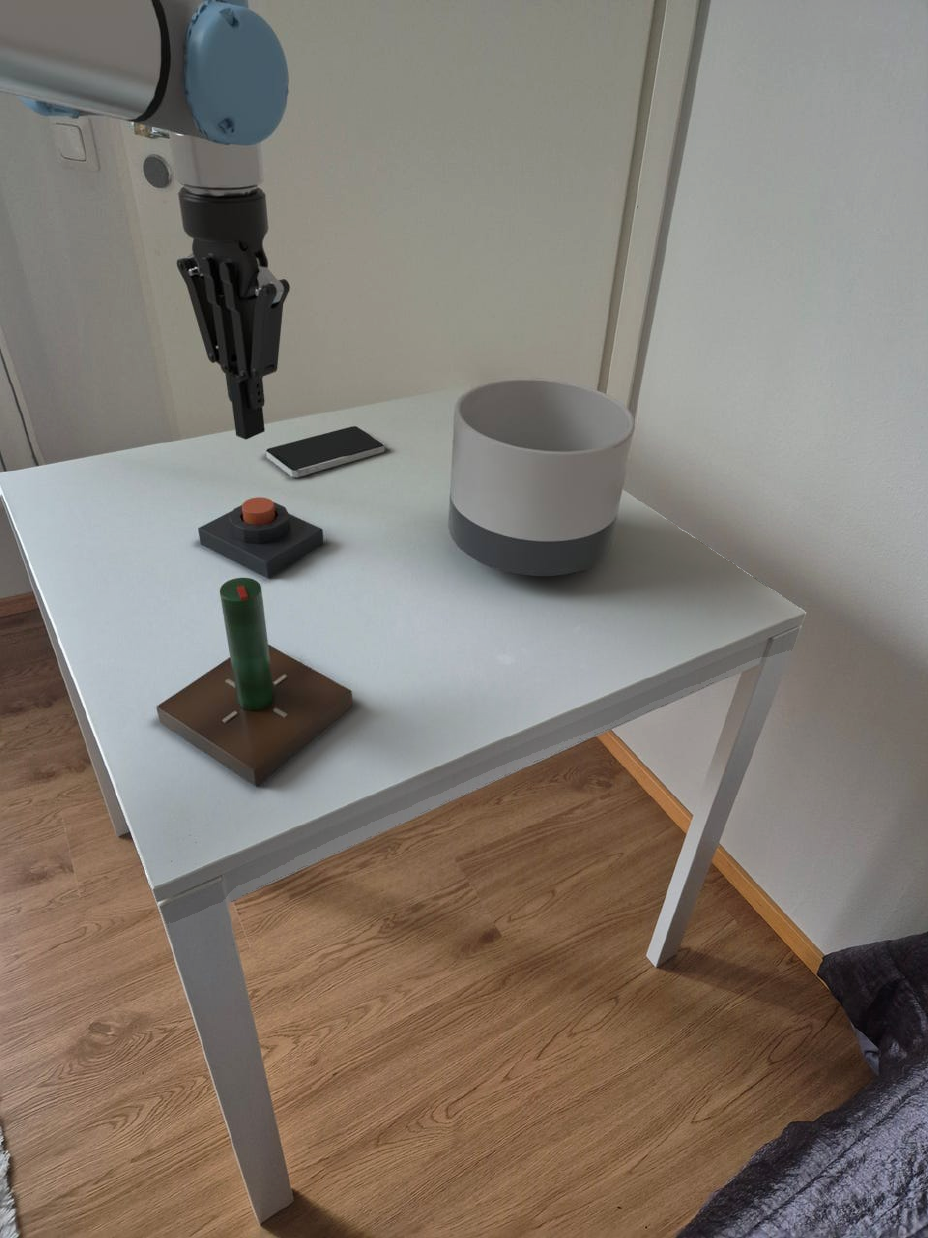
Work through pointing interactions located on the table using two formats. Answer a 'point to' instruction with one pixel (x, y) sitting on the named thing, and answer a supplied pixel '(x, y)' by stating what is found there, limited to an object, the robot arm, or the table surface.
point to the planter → (537, 474)
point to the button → (258, 511)
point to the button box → (262, 540)
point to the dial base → (255, 716)
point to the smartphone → (324, 451)
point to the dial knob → (247, 642)
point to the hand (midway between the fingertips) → (250, 433)
